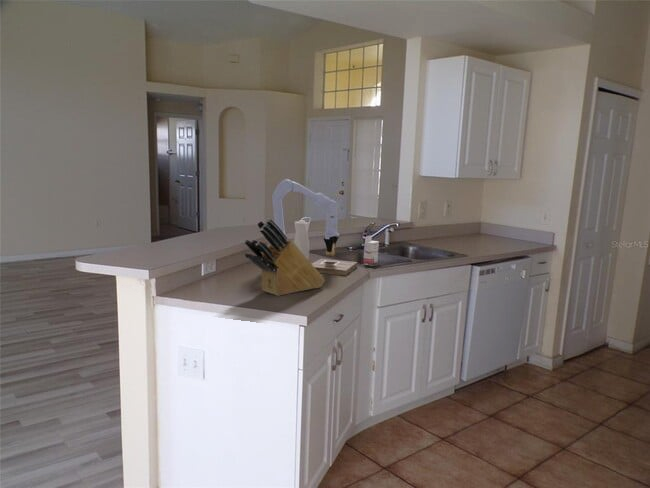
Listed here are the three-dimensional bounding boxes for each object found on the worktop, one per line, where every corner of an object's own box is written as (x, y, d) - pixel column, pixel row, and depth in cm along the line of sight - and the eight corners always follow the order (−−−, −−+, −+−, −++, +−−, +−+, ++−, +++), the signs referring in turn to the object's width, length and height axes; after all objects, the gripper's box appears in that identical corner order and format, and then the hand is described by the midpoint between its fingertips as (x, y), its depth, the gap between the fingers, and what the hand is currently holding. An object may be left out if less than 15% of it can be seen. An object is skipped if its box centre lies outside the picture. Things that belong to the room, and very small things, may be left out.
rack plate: (345, 275, 239) (346, 270, 239) (306, 271, 245) (306, 265, 244) (356, 267, 260) (357, 261, 259) (320, 263, 266) (320, 258, 265)
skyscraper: (305, 274, 239) (307, 216, 234) (311, 278, 231) (313, 218, 227) (288, 275, 236) (290, 216, 231) (294, 278, 228) (295, 218, 224)
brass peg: (332, 255, 251) (332, 244, 250) (325, 254, 253) (325, 243, 252) (335, 254, 255) (335, 242, 254) (328, 253, 256) (328, 242, 255)
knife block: (241, 294, 198) (242, 217, 193) (308, 282, 222) (310, 213, 217) (257, 301, 190) (259, 220, 185) (325, 287, 214) (328, 216, 209)
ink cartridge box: (371, 264, 268) (372, 237, 266) (363, 263, 270) (364, 236, 268) (378, 262, 275) (379, 235, 273) (369, 260, 278) (371, 234, 275)
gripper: (335, 226, 243) (334, 254, 245) (343, 223, 257) (342, 249, 259) (321, 225, 245) (320, 253, 247) (330, 222, 259) (329, 248, 261)
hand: (330, 251), depth 253 cm, fingers closed on brass peg, 4 cm apart
